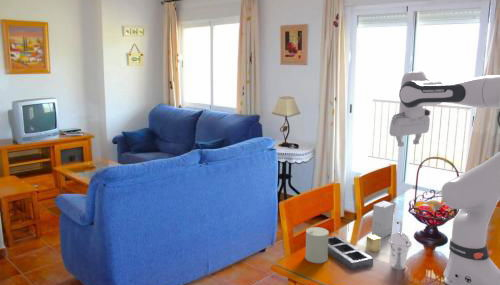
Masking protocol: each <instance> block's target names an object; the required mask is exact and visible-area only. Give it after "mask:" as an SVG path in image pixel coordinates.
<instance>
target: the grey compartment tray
mask: <svg viewBox="0 0 500 285" xmlns="http://www.w3.org/2000/svg"><path fill="white" fill-rule="evenodd" d="M328 255H330V256H331V257H333V258H335V259H336V260H337V261H338V262H340V263H341V264H342V265H344V266H345V267H347V268H348V269H349V270H351V271H353V270H357V269H361V268H362V269H363V268H367V267H371V266H374V257H372V256H371V255H369V254H368V253H366V252H365V251H363V250H361V249H360V248H358V247H357V246H355V245H353V244H352V243H350V242H349V241H347V240H345V239H344V238H343V237H340V236H339V235H335V236H334V235H333V236H328ZM357 259H358V260H357Z"/></svg>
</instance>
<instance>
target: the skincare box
mask: <svg viewBox="0 0 500 285" xmlns="http://www.w3.org/2000/svg"><path fill="white" fill-rule="evenodd" d="M394 210H395V203H392V202H389V201H386V200H382V201H380V202H377V203H375V204H373V210H372V211H373V212H372V224H371V235H376V236H378V237H380V238H381V239H384V238H385V237H387V236H389V235H391V234H392V235H393V225H394V224H393V223H394Z"/></svg>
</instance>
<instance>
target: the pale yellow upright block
mask: <svg viewBox="0 0 500 285" xmlns="http://www.w3.org/2000/svg"><path fill="white" fill-rule="evenodd" d="M381 240H382V238H381V237H378V236H376V235H373V234H371V235H370V234H369V235H367V236H366V245H365V250H367V251H368V252H370V253H371V254H374V253H378V252H379V253H380V252H381Z"/></svg>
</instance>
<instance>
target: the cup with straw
mask: <svg viewBox="0 0 500 285" xmlns="http://www.w3.org/2000/svg"><path fill="white" fill-rule="evenodd" d="M396 224H397V225H399V232H395V233H394V234H392V236H391V237H390V238H389V239H388V244H389V246H390V249H391V250H390V251H391V264H392V266H391V267H392V268H393V269H395V270H405V266H406V263H407V262H406V261H407V256H408V253H409V250H410V247H412V245H413V244H412V241H411V240H410V239H409V236H408V235H407V234H406V233H403V232H402V231H403V230H402V229H403V220H398V221H396Z"/></svg>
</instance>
